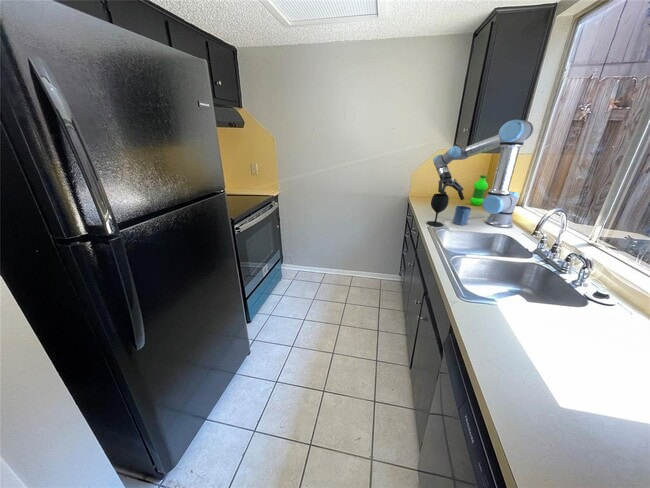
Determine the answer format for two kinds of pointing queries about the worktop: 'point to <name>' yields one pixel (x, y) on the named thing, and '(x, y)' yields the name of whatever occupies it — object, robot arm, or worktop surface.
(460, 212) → the mug
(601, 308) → the worktop surface
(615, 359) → the worktop surface
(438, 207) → the wine glass
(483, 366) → the worktop surface
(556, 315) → the worktop surface
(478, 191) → the plastic bottle
